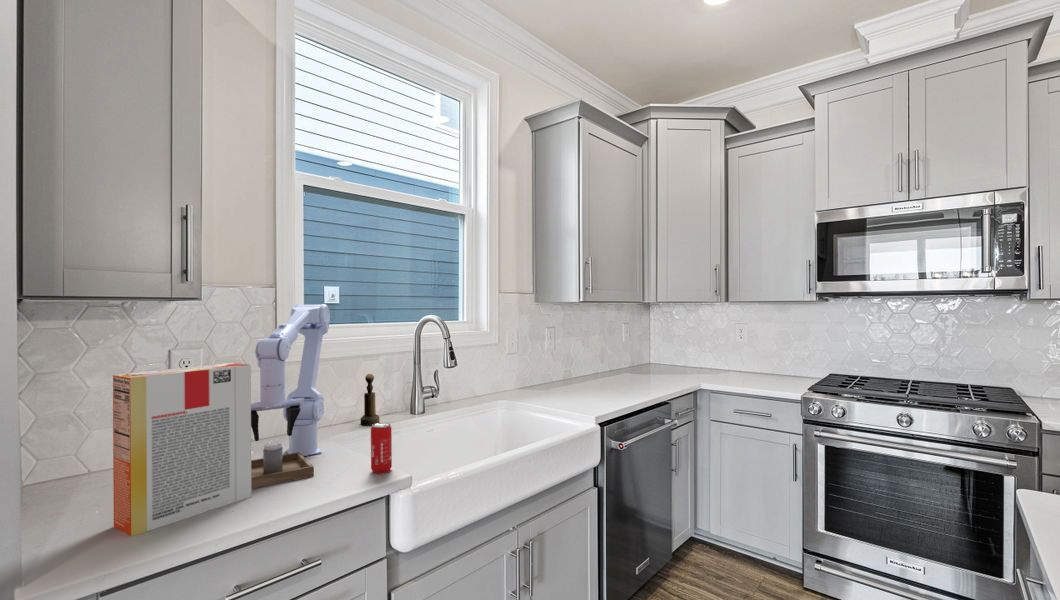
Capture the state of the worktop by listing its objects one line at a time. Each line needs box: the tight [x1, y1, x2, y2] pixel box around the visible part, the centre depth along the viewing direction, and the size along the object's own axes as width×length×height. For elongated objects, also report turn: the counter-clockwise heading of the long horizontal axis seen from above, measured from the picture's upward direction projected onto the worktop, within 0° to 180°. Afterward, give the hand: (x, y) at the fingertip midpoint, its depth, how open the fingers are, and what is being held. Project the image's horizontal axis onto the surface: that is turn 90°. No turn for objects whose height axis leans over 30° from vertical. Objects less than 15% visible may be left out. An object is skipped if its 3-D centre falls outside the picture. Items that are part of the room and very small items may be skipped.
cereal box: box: [112, 362, 252, 537], centre depth 109 cm, size 23×8×30 cm, turn 148°
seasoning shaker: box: [262, 442, 283, 475], centre depth 131 cm, size 4×4×7 cm
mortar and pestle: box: [360, 373, 381, 426], centre depth 186 cm, size 7×6×18 cm
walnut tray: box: [251, 452, 315, 490], centre depth 131 cm, size 16×16×2 cm
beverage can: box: [370, 422, 393, 475], centre depth 133 cm, size 5×5×12 cm
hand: (273, 437), depth 131 cm, fingers open, 7 cm apart
